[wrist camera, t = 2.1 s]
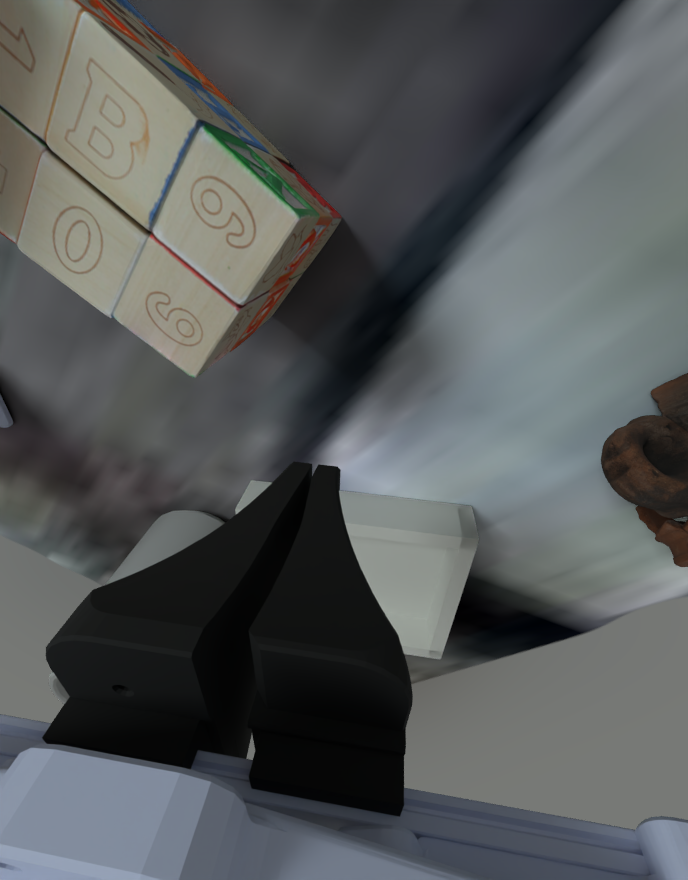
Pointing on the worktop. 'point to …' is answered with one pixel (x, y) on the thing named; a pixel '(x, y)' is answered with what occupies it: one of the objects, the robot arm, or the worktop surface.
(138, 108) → the stack of blocks
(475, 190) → the worktop surface
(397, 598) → the tray
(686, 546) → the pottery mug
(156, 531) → the can
